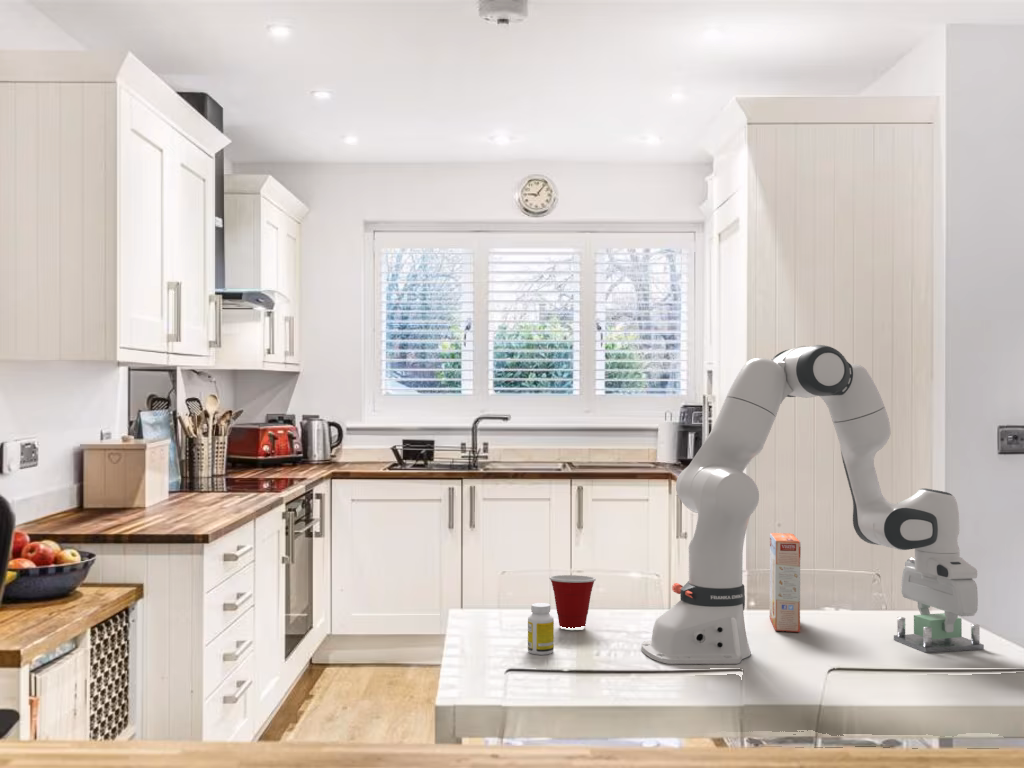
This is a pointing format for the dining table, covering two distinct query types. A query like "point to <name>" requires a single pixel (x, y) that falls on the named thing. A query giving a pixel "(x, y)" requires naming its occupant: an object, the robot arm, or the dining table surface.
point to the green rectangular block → (936, 626)
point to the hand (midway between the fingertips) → (937, 627)
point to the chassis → (937, 640)
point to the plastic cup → (572, 598)
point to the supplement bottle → (540, 630)
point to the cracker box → (785, 582)
